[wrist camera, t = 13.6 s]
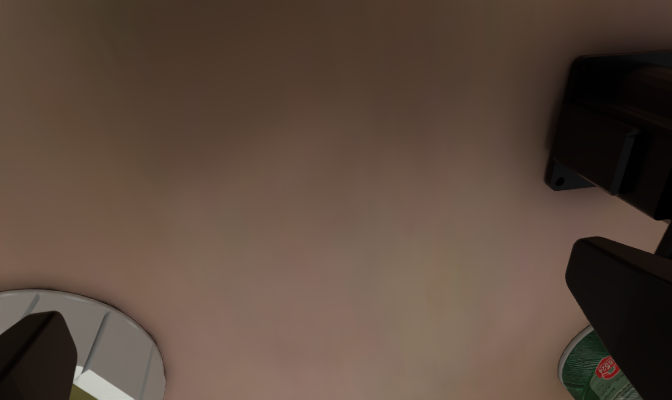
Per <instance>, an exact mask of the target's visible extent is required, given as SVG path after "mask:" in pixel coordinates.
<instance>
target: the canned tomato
mask: <svg viewBox="0 0 672 400" xmlns="http://www.w3.org/2000/svg"><path fill="white" fill-rule="evenodd" d="M558 376H559V380H560V381H561V383H562V385H563V386H564V387H565V388H566V389H567V390H568V391H569V392H570V394H571V395H572V396H573V398H574V399H575V400H643V399H642V398H641V397H640V395H639V394H638V393H637V391H636V390H635V389H634V387H633V386H632V385H631V383H630V382H629V381H628V379H627V378H626V377H625V375H624V374H623V373H622V371H621V370H620V369H619V367H618V366H617V364H616V363H615V362H614V360H613V359H612V357H611V356H610V354H609V353H608V351H607V350H606V348H605V347H604V345H603V343H602V342H601V340H600V339H599V337H598V335H597V334H596V332H595V330H594V329H593V327H592V326H591V325H589V326H588V327H587V328H586V329H584V330H583V331H582V332H580V333H579V334H578V335H577V336H576V337H575V338H574V339H573V340H572V341H571V343H570V344H569V345H568V347H567V348H566V349H565V351H564V353H563V355H562V357H561V359H560V362H559V366H558Z"/></svg>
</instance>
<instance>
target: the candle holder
mask: <svg viewBox="0 0 672 400" xmlns="http://www.w3.org/2000/svg"><path fill="white" fill-rule="evenodd" d="M53 310H55V311H58V312H60V313H61V314H62V315H63V317H64V319H65V321H66V324H67V326H68V328H69V331H70V333H71V336H72V338H73V340H74V343H75V345H76V348H77V354H78V359H77V366H76V371H75V375H74V380H73V384H75V385H76V386H78V387H79V388H81V389H83V390H84V391H86V392H87V393H89V394H91V395H92V396H94V397H95V398H97V399H98V400H163V398H164V392H165V387H166V380H165V376H164V366H163V361H162V357H161V354H160V352H159V349H158V347H157V346H156V344H155V342H154V341H153V339H152V338H151V337H150V335H149V334H148V333H147V332H146V331H145V330H144V329H143V328H142V327H141V326H140V325H139V324H138V323H137V322H135V321H134V320H133V319H131V318H130V317H128V316H127V315H125V314H124V313H122V312H121V311H119V310H117V309H115V308H113V307H111V306H109V305H107V304H104V303H102V302H99V301H97V300H94V299H91V298H88V297H84V296H81V295H77V294H72V293H67V292H62V291H53V290H39V289H24V290H11V291H4V292H0V334H2V333H3V332H4V331H6V330H7V329H9V328H10V327H11V326H13V325H14V324H15V323H17V322H18V321H20V320H21V319H22V318H24V317H25V316H27V315H29V314H32V313H38V312H46V311H53Z"/></svg>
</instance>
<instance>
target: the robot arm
mask: <svg viewBox="0 0 672 400" xmlns="http://www.w3.org/2000/svg"><path fill="white" fill-rule="evenodd" d="M585 64H586V68H585V70H584V71H583V72H582V68H583V66H584V65H585ZM558 178H559V180H558V181H557V182H556V183H555V181H556V180H557V179H558ZM546 184H547V186H548V187H550V188H551V189H553V190H554V191H561V190H569V189H578V188H587V187H595V186H597V187H599V188H600V189H602V190H604V191H605V192H607V193H608V194H610V195H613V196H617V197H618V198H620V199H622V200H623V201H625V202H626V203H628V204H630V205H631V206H633V207H635V208H636V209H638V210H639V211H641V212H643V213H644V214H646V215H648V216H649V217H651V218H653V219H654V220H658V221H659V220H662V221H663V222H665V223H667V224H668V227H667V229H666V231H665V233H664V235H663V237H662V239H661V241H660V243H659V245H658V247H657V249H656V251H655V252H654V254H651V253H648V252H645V251H642V250H639V249H636V248H633V247H630V246H627V245H624V244H621V243H618V242H615V241H612V240H609V239H606V238H603V237H598V236H596V237H588V238H581V239H579V240H577V241H576V242H575V243H574V245H573V248H572V251H571V255H570V258H569V262H568V266H567V269H566V273H565V279H566V283H567V286H568V288H569V290H570V291H571V293H572V295H573V296H574V298H575V299H576V301H577V303H578V304H579V306H580V308H581V309H582V311H583V313H584V314H585V316H586V317H587V319H588V321H589V322H590V324H591V326H592V327H593V329H594V330H595V332H596V334H597V335H598V337H599V339H600V340H601V342H602V343H603V345H604V347H605V348H606V350H607V351H608V353H609V354H610V356H611V357H612V359H613V360H614V362H615V363H616V364H617V366H618V367H619V369H620V370H621V371H622V373H623V374H624V375H625V377H626V378H627V379H628V381H629V382H630V383H631V385H632V386H633V387H634V389H635V390H636V391H637V393H638V394H639V395H640V397H641V398H642V399H643V400H672V50H662V51H647V52H631V53H615V54H600V55H584V56H580V57H578V58H577V59H576V60H575V61H574V62H573V64H572V66H571V69H570V74H569V78H568V83H567V87H566V92H565V96H564V100H563V105H562V109H561V114H560V118H559V123H558V127H557V131H556V136H555V140H554V145H553V149H552V154H551V159H550V163H549V167H548V172H547V176H546ZM77 359H78V354H77V348H76V345H75V343H74V340H73V338H72V336H71V333H70V331H69V328H68V326H67V324H66V321H65V319H64V317H63V315H62V314H61V313H60V312H58V311H55V310H53V311H46V312H38V313H32V314H29V315H27V316H25V317H24V318H22V319H21V320H20V321H18V322H17V323H15V324H14V325H13V326H11V327H10V328H9V329H7V330H6V331H4V332H3V333H2V334H0V400H69V399H70V395H71V390H72V385H73V380H74V375H75V371H76V366H77Z"/></svg>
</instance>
